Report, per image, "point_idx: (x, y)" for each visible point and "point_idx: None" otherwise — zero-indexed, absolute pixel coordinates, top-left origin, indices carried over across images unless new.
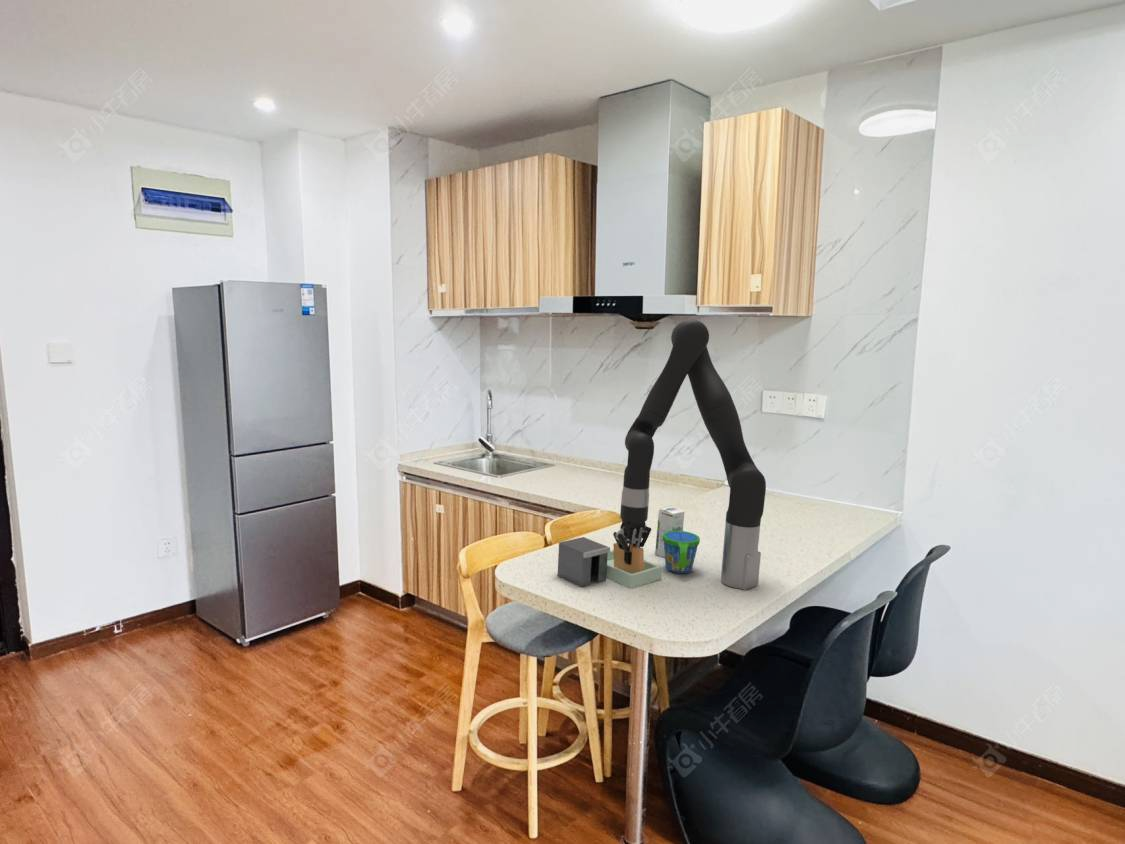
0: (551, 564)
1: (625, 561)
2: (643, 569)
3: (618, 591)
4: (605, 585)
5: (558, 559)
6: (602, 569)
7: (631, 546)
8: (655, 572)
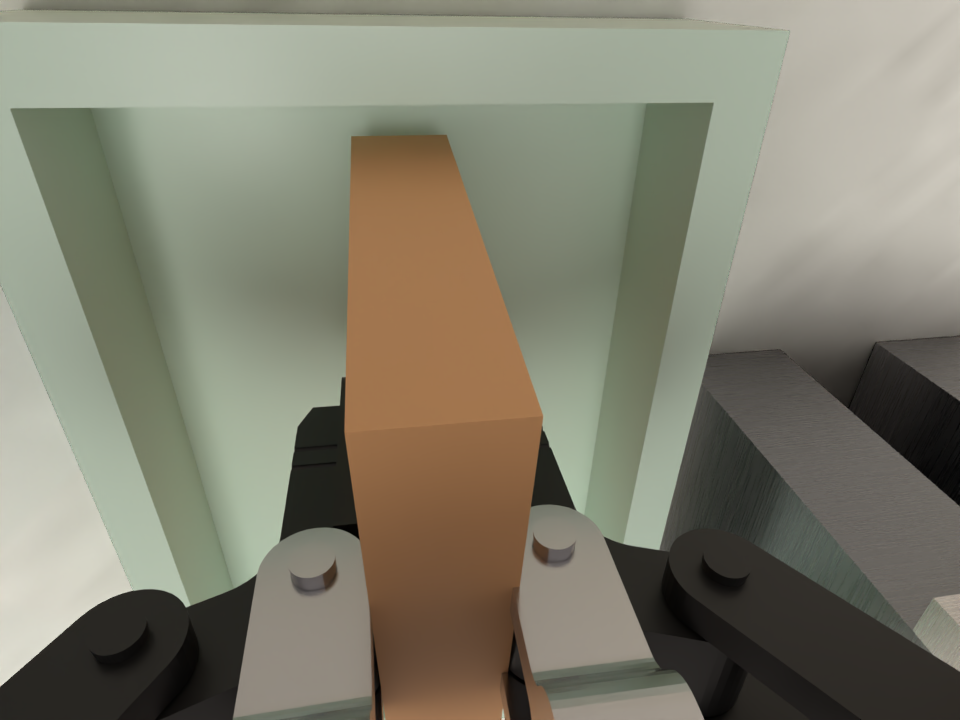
0: None
1: None
2: (359, 163)
3: (863, 50)
4: (796, 264)
5: None
6: (813, 428)
7: (583, 620)
8: (139, 18)
